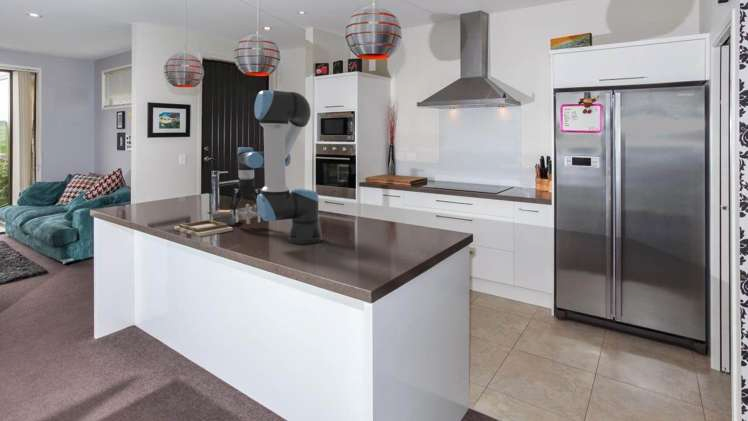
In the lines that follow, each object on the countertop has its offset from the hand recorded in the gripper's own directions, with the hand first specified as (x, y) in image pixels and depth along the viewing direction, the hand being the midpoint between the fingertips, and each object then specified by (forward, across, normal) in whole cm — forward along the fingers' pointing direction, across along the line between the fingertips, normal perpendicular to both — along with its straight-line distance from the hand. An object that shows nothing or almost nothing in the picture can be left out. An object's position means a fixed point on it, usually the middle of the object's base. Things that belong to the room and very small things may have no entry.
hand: (248, 222), depth 226 cm
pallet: (+3, -20, -6) cm, 21 cm away
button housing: (+2, -14, +12) cm, 19 cm away
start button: (-1, -14, +11) cm, 18 cm away
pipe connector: (+1, 0, 0) cm, 1 cm away
